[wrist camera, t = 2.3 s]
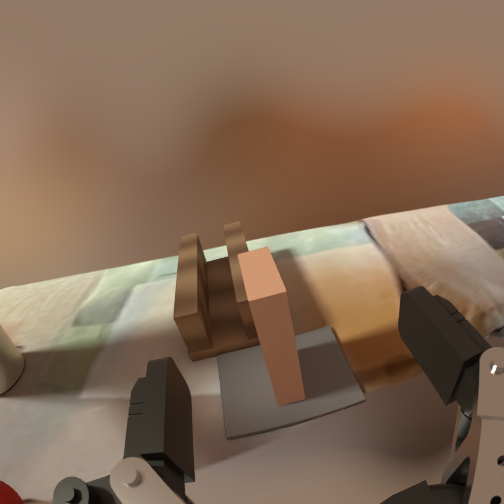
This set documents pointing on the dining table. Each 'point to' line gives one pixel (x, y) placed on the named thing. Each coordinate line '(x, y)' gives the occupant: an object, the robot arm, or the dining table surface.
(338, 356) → the mat
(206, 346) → the rack
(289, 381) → the block
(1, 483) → the kendama
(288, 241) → the dining table surface
